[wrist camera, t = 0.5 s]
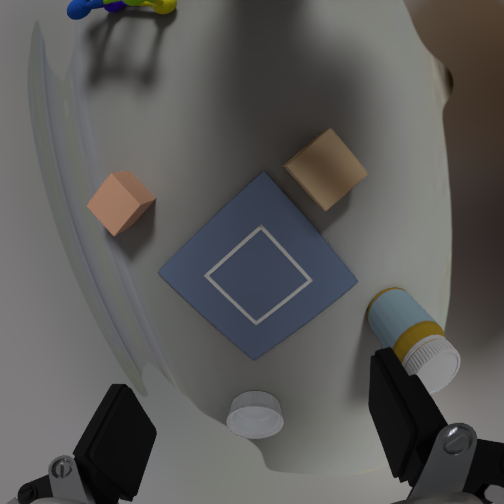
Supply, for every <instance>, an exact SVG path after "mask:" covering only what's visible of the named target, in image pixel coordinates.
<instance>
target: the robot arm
mask: <svg viewBox="0 0 504 504" xmlns="http://www.w3.org/2000/svg"><path fill="white" fill-rule="evenodd" d="M368 405H369V411H370V413H371V416H372V419H373V421H374V424H375V427H376V429H377V432H378V435H379V438H380V440H381V443H382V446H383V449H384V452H385V454H386V457H387V460H388V463H389V466H390V469H391V472H392V475H393V477H394V478H397V477H399V480H400V482H401V483H402V482H404V481H407V480H408V483H409V486H411V487H412V489H411V491H410V493H409V495H408V497H407V499H406V500H403V501H399V502H395V503H392V504H492V503H495V504H504V443H500V442H493V441H488V440H482V439H477V434H476V432H475V430H474V429H473V428H472V427H471V426H469V425H467V424H464V423H453V424H449V425H448V424H447V422H446V421H445V419H444V417H443V415H442V414H441V412H440V410H439V409H438V407H437V405H436V404H435V402H434V400H433V399H432V397H431V396H430V394H429V392H428V391H427V389H426V388H425V386H424V384H423V383H422V381H421V380H420V378H419V377H418V376H417V375H416V374H413V375H410V376H409V375H408V373H407V371H406V370H405V368H404V367H403V365H402V363H401V362H400V360H399V359H398V357H397V355H396V354H395V352H394V351H393V349H392V348H391V347H387V348H384V349H380V350H377V351H376V352H375V355H373V356H371V364H370V387H369V402H368ZM156 435H157V432H156V428H155V427H154V425H153V424H152V422H151V420H150V419H149V417H148V416H147V414H146V413H145V411H144V409H143V408H142V406H141V404H140V403H139V401H138V399H137V398H136V396H135V394H134V393H133V391H132V389H131V388H129V387H128V386H127V385H126V384H112V385H111V386H110V388H109V390H108V392H107V393H106V395H105V397H104V398H103V400H102V402H101V403H100V405H99V407H98V409H97V410H96V412H95V414H94V416H93V417H92V419H91V421H90V422H89V424H88V426H87V428H86V430H85V432H84V433H83V435H82V437H81V439H80V440H79V442H78V444H77V446H76V448H75V450H74V452H73V455H75V458H74V459H73V458H72V457H70V456H66V455H63V456H59V457H57V458H55V459H54V460H53V461H52V462H51V464H50V465H49V469H48V472H49V474H48V475H46V476H44V477H41V478H39V479H36V480H34V481H31V482H29V483H26V484H24V485H23V486H22V487H21V488H20V489H19V491H18V499H17V498H16V497H15V498H13V499H12V500H11V501H9V502H8V503H7V504H119V503H118V500H119V498H120V499H121V500H126V501H131V502H132V500H133V497H134V496H136V495H137V493H138V490H139V487H140V483H141V480H142V477H143V474H144V471H145V468H146V465H147V462H148V459H149V456H150V453H151V450H152V447H153V444H154V441H155V438H156Z"/></svg>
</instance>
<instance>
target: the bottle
mask: <svg viewBox="0 0 504 504" xmlns="http://www.w3.org/2000/svg"><path fill="white" fill-rule="evenodd" d="M367 320H368V323H369V325H370V327H371V329H372V330H373V332H374V334H375V335H376V337H377V339H378V340H379V342H380V344H381V345H382V347H383V349H384V348H387V347H391V348H392V349H393V351H394V352H395V354H396V355H397V357H398V359H399V360H400V362H401V363H402V365H403V367H404V368H405V370H406V371H407V373H408V375H409V376H410V375H413V374H416V375H417V376H418V377H419V378H420V380H421V381H422V383H423V384H424V386H425V388H426V389H427V391H428V392H429V394H430V395H431V394H434V393H436V392H438V391H439V390H441V389H442V388H444V387H445V386H446V385H447V384H448V383H449V382H450V381H451V380H452V379H453V377H454V376H455V375H456V373H457V371H458V369H459V366H460V355H459V353H458V352H457V351H456V349H455V348H454V347H453V346H452V345H451V344H450V343H449V342H448V341H447V340H446V339H445V335H444V332H443V330H442V328H441V327H440V326H439V325H438V324H437V322H436V321H435V320H434V319H433V318H432V317H431V316H430V315H429V314H428V313H427V312H426V311H425V310H424V309H423V308H422V307H421V306H420V305H419V304H418V303H417V302H416V301H415V300H414V299H413V298H412V297H411V296H410V295H409V294H408V293H407V292H406V291H405V290H403V289H401V288H397V287H393V288H388V289H386V290H384V291H382V292H380V293H379V294H378V295H377V296H375V298H374V299H373V300H372V302H371V303H370V305H369V308H368V311H367Z"/></svg>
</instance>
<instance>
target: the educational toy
mask: <svg viewBox="0 0 504 504" xmlns="http://www.w3.org/2000/svg"><path fill="white" fill-rule="evenodd" d="M176 5H177V0H92V1H91V0H73V1H72V2H71V3H70V4H69V5H68V8H67V15H68V16H69V17H70V18H71V19H74V20H78V19H82V18H84V17H85V16H87V15H88V14H89V13H90V11H91V9H97V8H103V7H104V8H105V10H107V11H108V12H116V11H119V10H120V9H122V8H123V7H124V6H151V7H153V10H154V11H155V12H156V13H158V14H168V13H170V12H172V11H173V10H174V9H175V7H176Z"/></svg>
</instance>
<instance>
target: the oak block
mask: <svg viewBox="0 0 504 504" xmlns="http://www.w3.org/2000/svg"><path fill="white" fill-rule="evenodd" d="M283 167H284V168H285V169H286V170H287V171H288V172H289V173H290V174H291V176H292V177H293V178H294V179H295V180H296V181H297V182H298V183H299V185H300V186H301V187H302V188H303V189H304V190H305V191H306V193H307V194H308V195H309V196H310V197H311V198H312V200H313V201H314V202H315V203H316V204H317V205H318V206H319V207H321V208H322V209H323V210H325V211H327V210H328V209H329V208H330V207H332V206H333V205H334V204H335V203H336V202H337V201H338V200H340V199H341V198H342V197H343V196H344V195H345V194H346V193H347V192H349V191H350V190H351V189H352V188H353V187H354V186H355V185H356V184H358V183H359V182H360V181H361V180H362V179H363V178H364V177H365V176H367V175H368V173H367V171H366V170H365V169H364V168H363V166H362V165H361V164H360V162H359V161H358V160H357V159H356V157H355V156H354V155H353V154H352V152H351V151H350V150H349V149H348V147H347V146H346V145H345V144H344V143H343V141H342V140H341V139H340V138H339V137H338V135H337V134H336V133H335V132H334V131H333V130H332V128H330V129H328V130H325V131H323V132H321V133H320V134H319V135H318V136H316V137H315V138H314V139H313V140H312V141H311V142H309V143H308V144H307V145H306V146H305V147H304V148H302V149H301V150H300V151H299V152H298V153H297V154H295V155H294V156H293V157H292V158H291V159H290V160H289V161H287V162H286V163H285V164H284V165H283Z"/></svg>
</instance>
